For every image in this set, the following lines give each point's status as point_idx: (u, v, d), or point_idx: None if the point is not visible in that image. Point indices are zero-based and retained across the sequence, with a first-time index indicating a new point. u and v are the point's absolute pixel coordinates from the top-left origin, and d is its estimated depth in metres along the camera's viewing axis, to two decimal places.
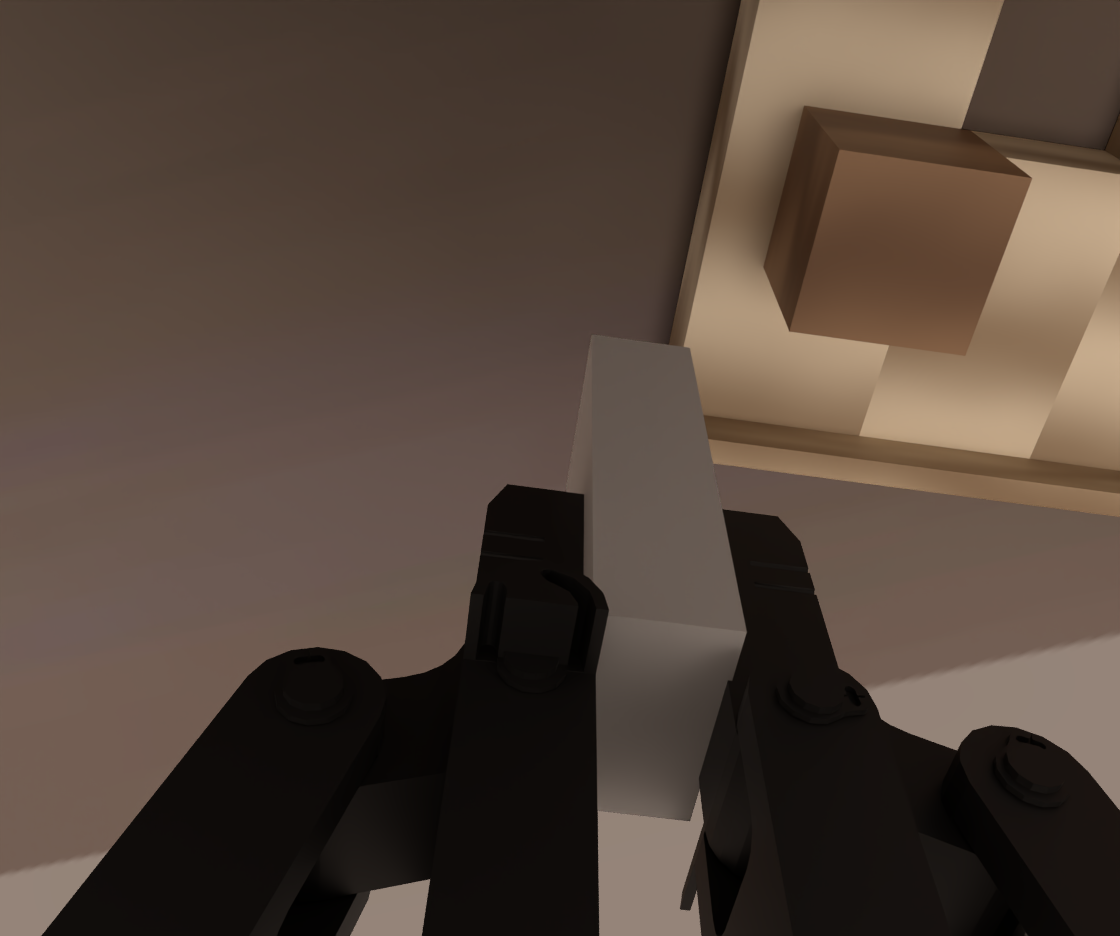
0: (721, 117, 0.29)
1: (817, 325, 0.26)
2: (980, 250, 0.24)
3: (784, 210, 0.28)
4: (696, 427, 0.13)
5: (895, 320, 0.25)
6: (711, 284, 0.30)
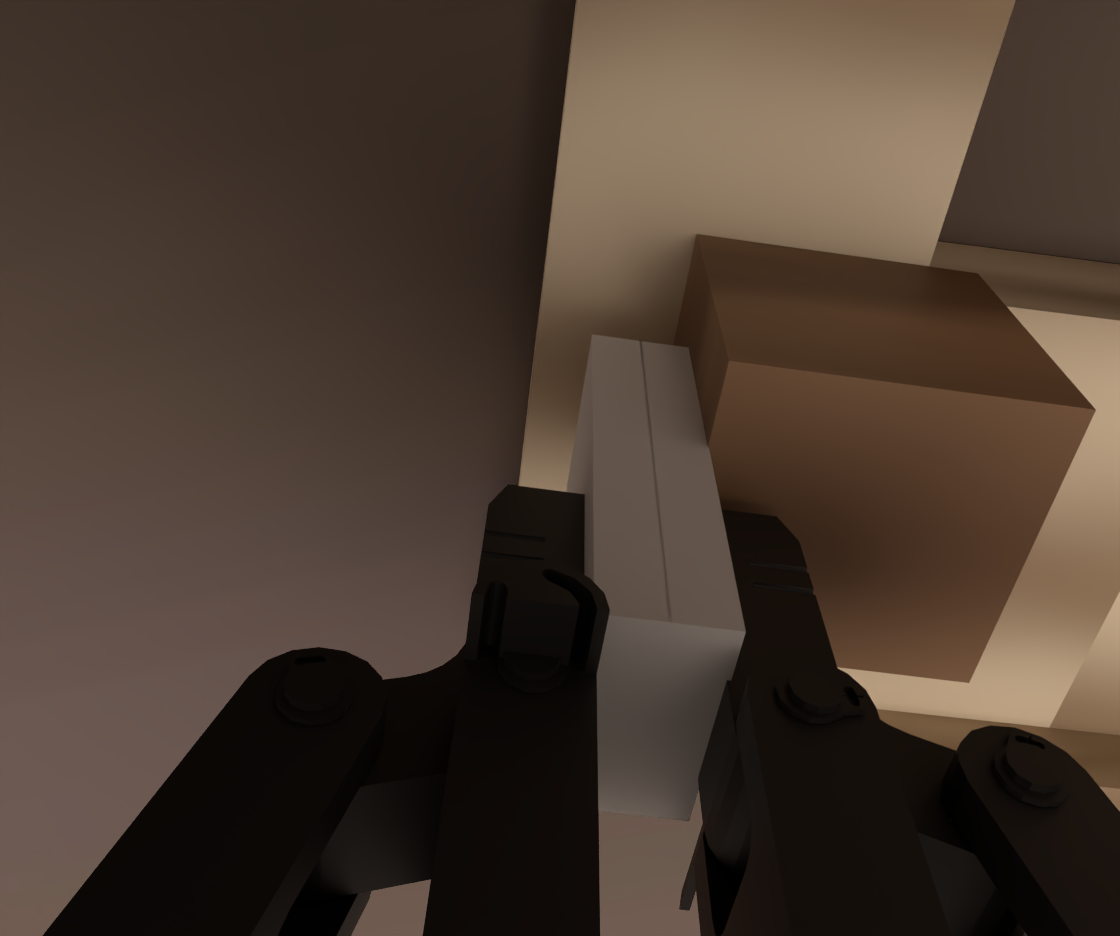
0: (548, 234, 0.18)
1: None
2: (997, 526, 0.13)
3: None
4: (695, 427, 0.13)
5: (846, 630, 0.14)
6: None
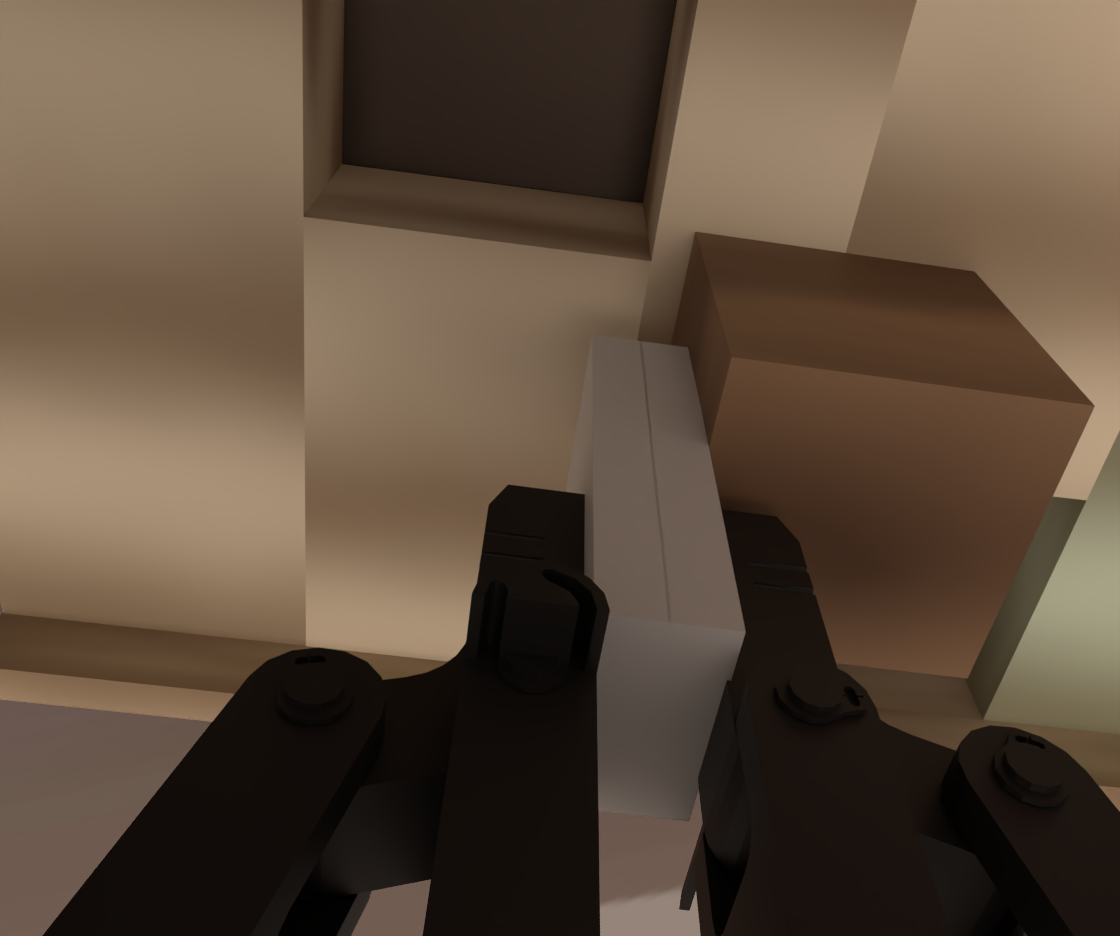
0: None
1: None
2: (996, 522, 0.13)
3: None
4: (695, 427, 0.13)
5: (845, 626, 0.14)
6: None
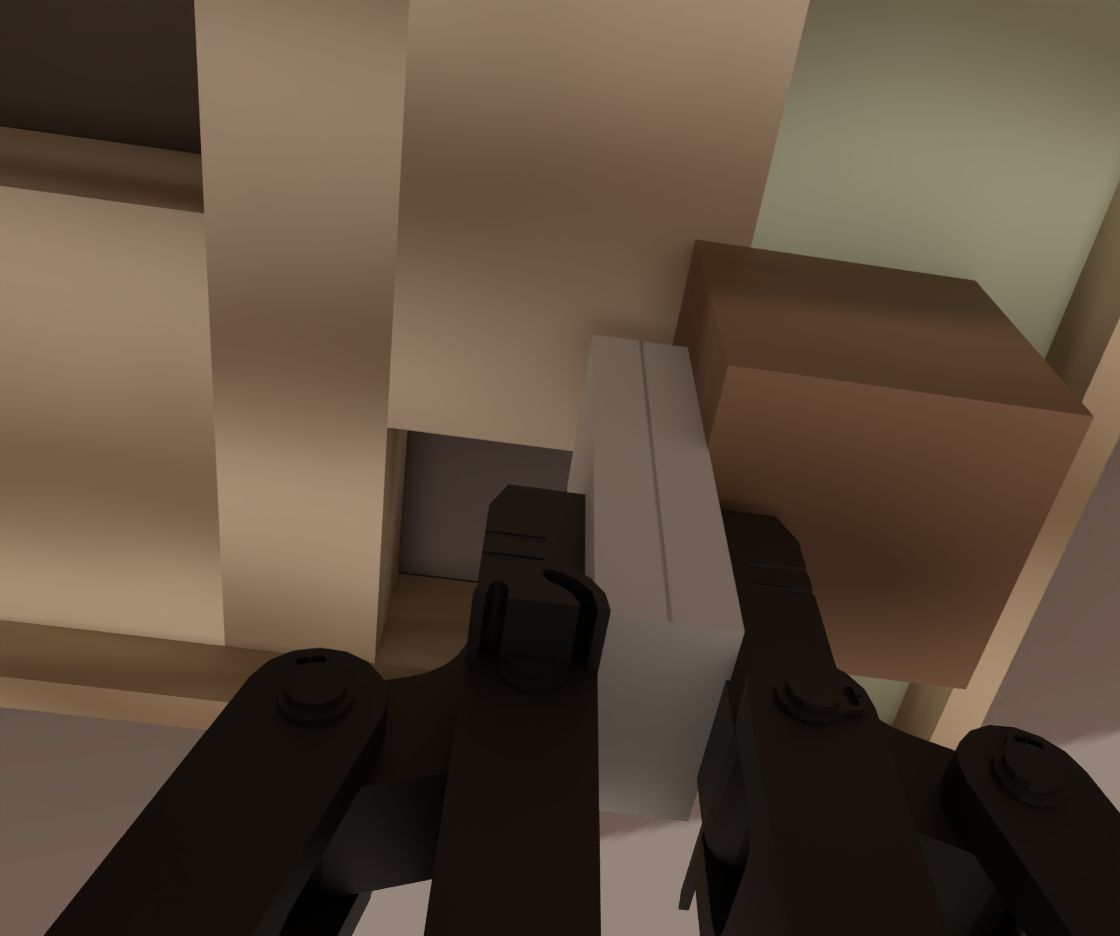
0: None
1: None
2: (995, 532, 0.13)
3: None
4: (694, 427, 0.13)
5: (843, 635, 0.14)
6: None
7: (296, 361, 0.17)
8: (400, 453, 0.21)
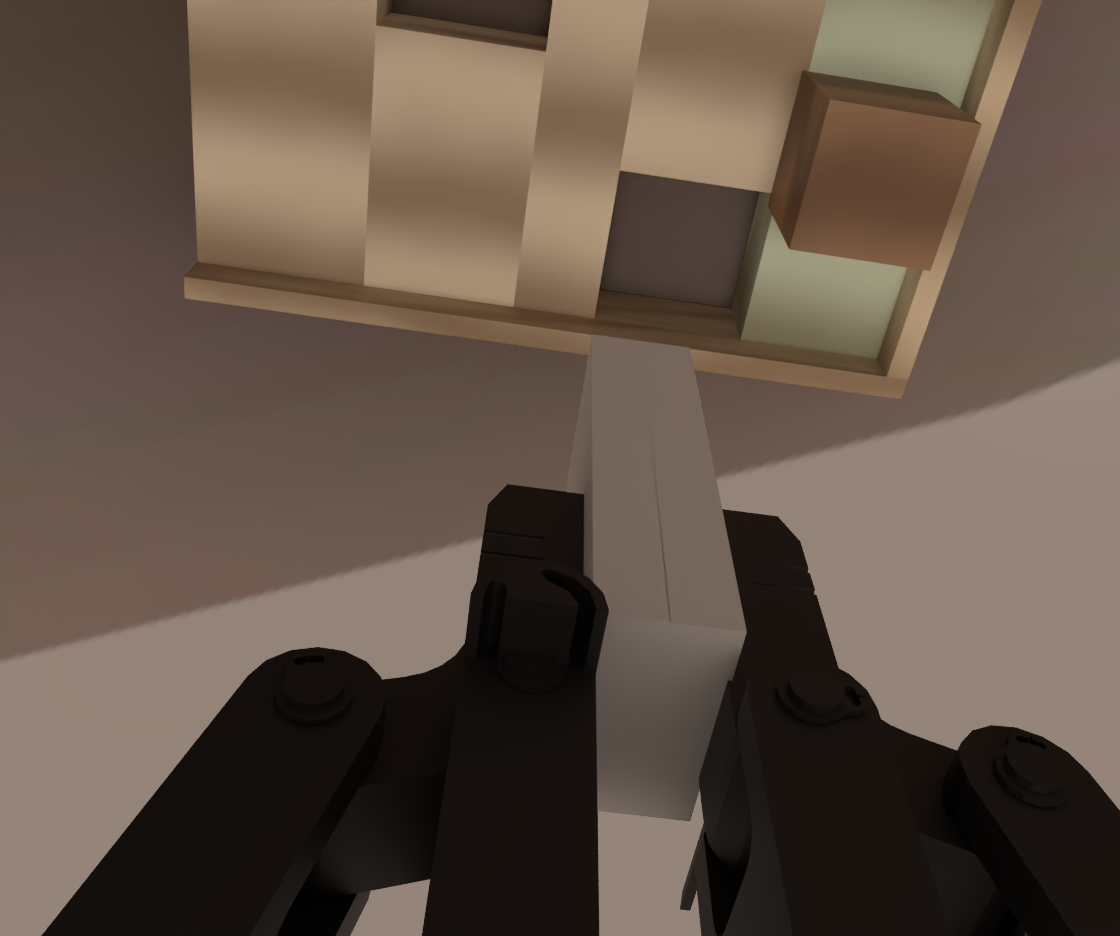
0: None
1: (811, 243, 0.32)
2: (941, 183, 0.31)
3: (785, 156, 0.34)
4: (696, 427, 0.13)
5: (874, 240, 0.32)
6: (204, 146, 0.35)
7: (579, 132, 0.35)
8: None
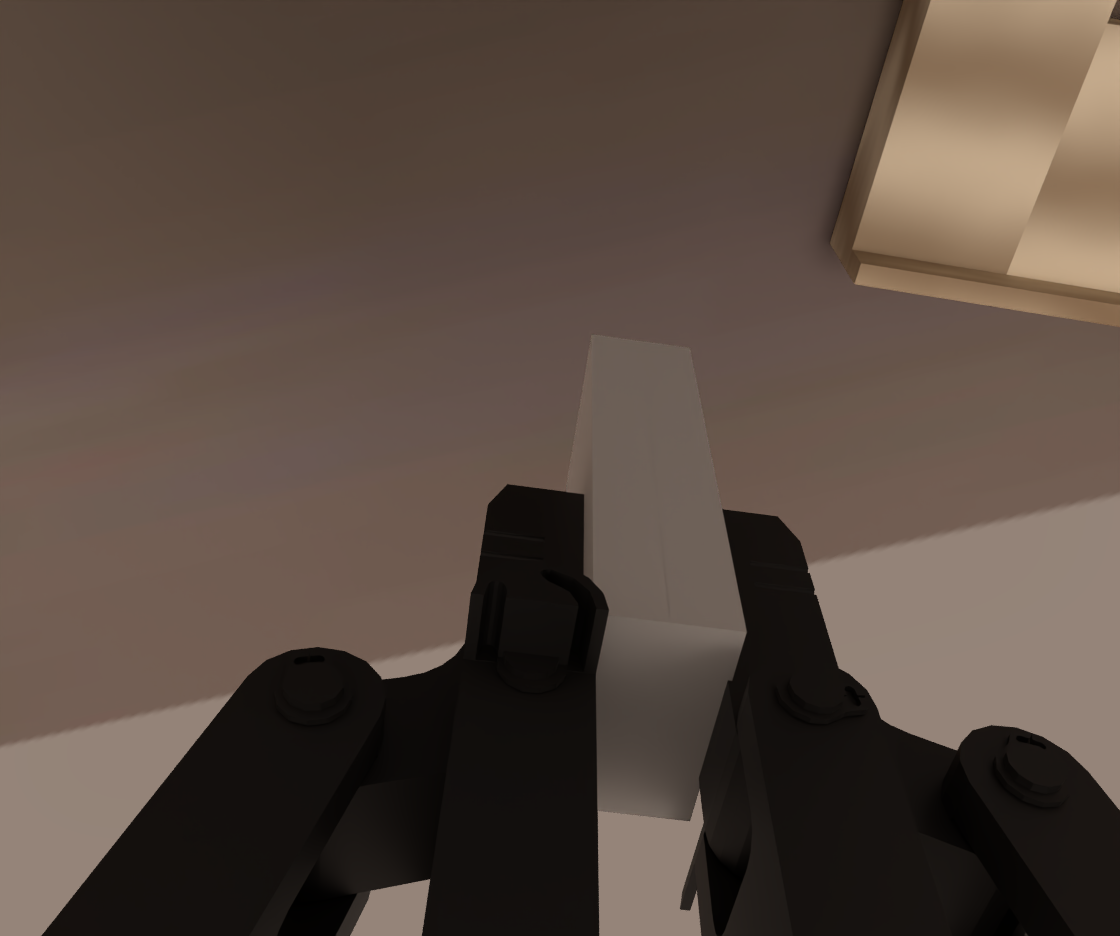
0: None
1: None
2: None
3: None
4: (696, 427, 0.13)
5: None
6: (899, 137, 0.36)
7: None
8: None
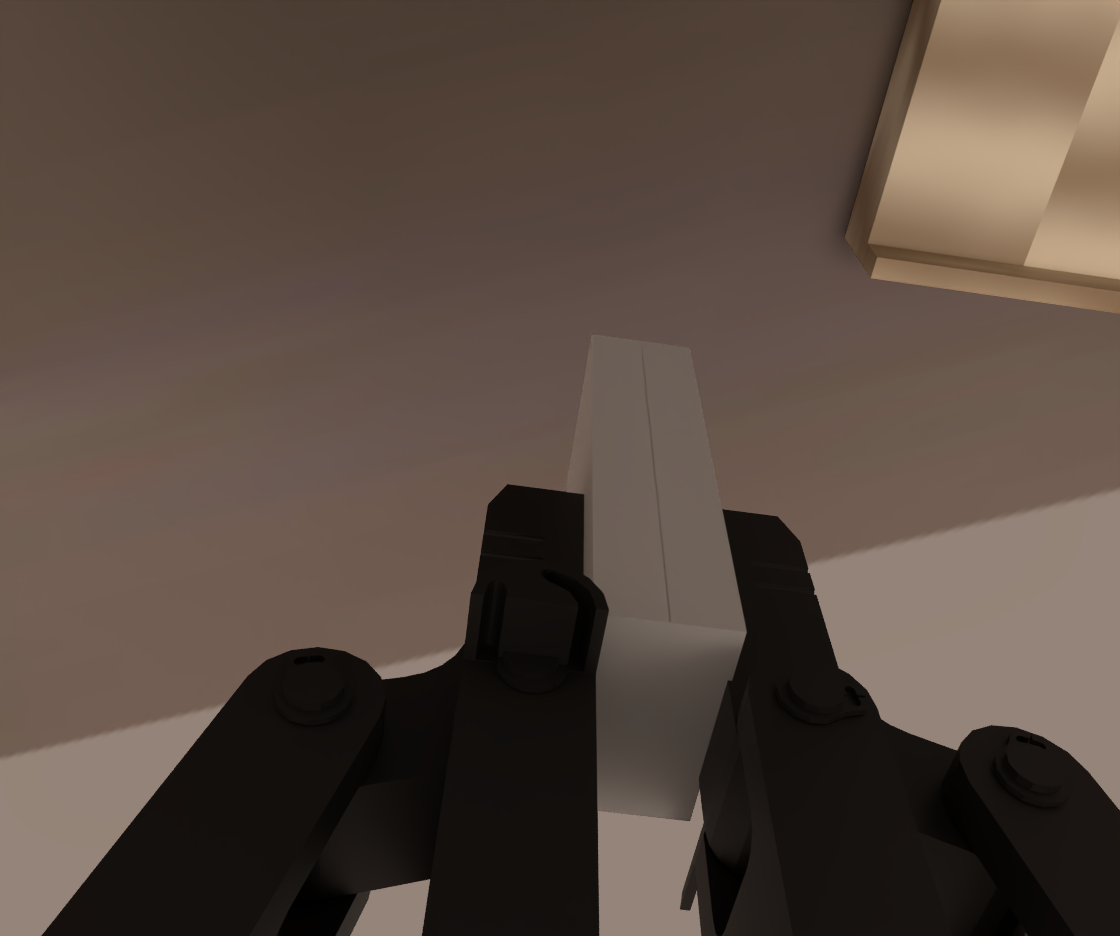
0: None
1: None
2: None
3: None
4: (696, 427, 0.13)
5: None
6: (913, 129, 0.36)
7: None
8: None
